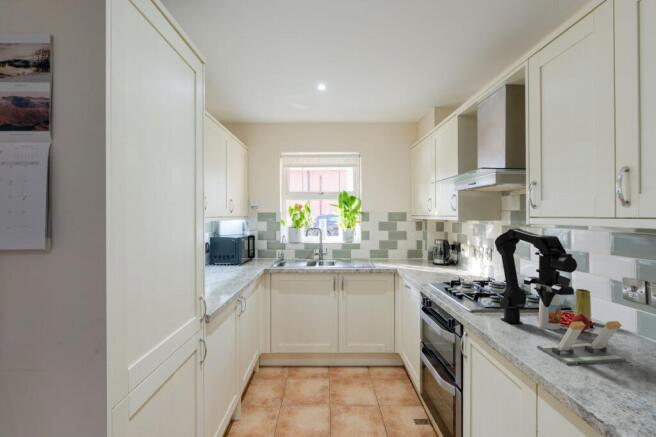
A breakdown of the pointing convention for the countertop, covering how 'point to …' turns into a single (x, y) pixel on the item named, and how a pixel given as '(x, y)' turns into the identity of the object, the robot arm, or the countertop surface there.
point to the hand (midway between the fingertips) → (546, 307)
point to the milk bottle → (550, 314)
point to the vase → (583, 303)
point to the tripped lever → (570, 336)
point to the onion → (581, 320)
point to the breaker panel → (581, 354)
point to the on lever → (605, 335)
